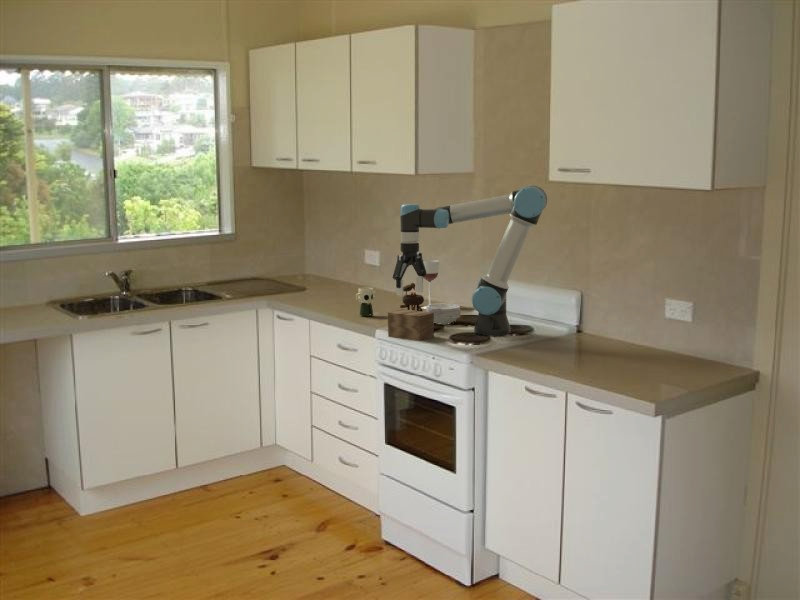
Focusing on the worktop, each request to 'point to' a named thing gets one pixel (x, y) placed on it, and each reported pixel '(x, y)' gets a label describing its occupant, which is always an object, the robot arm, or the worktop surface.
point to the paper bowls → (444, 312)
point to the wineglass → (430, 274)
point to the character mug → (366, 300)
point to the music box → (412, 299)
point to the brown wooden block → (411, 324)
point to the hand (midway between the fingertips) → (409, 293)
